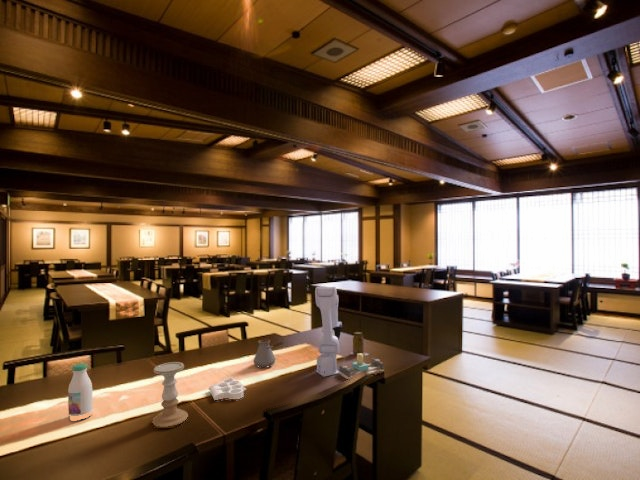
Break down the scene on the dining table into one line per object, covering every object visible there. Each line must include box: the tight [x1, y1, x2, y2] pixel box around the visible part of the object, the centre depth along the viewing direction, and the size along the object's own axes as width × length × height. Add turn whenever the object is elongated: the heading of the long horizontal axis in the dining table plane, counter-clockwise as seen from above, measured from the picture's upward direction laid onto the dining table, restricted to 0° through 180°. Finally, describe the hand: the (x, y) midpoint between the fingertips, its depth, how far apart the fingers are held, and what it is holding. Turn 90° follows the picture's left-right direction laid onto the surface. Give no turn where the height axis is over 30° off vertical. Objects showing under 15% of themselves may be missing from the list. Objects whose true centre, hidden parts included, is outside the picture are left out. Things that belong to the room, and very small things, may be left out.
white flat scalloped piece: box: [208, 377, 247, 401], centre depth 158 cm, size 3×18×15 cm
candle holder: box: [151, 361, 189, 427], centre depth 134 cm, size 12×12×20 cm
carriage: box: [351, 353, 369, 371], centre depth 177 cm, size 5×7×7 cm
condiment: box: [349, 331, 370, 357], centre depth 206 cm, size 7×8×12 cm
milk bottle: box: [67, 362, 94, 416], centre depth 138 cm, size 8×8×20 cm
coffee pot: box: [253, 339, 287, 368], centre depth 188 cm, size 21×12×15 cm, turn 49°
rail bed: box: [338, 357, 385, 380], centre depth 177 cm, size 21×9×5 cm, turn 117°
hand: (333, 341), depth 196 cm, fingers open, 7 cm apart
